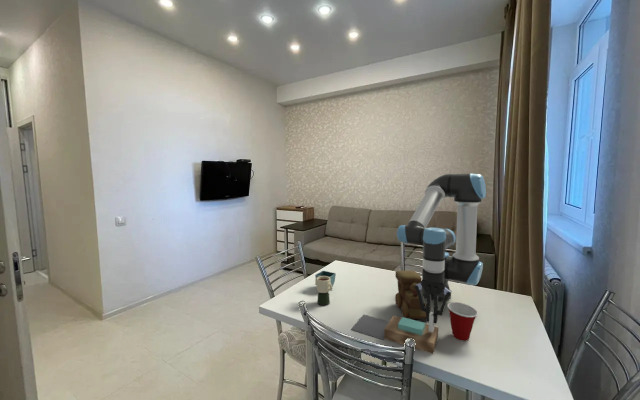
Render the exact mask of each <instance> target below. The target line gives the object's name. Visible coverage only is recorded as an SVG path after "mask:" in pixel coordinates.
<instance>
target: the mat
mask: <svg viewBox="0 0 640 400" xmlns="http://www.w3.org/2000/svg"><path fill="white" fill-rule="evenodd" d="M389 321H390V320H385V319H381V318H378V317H375V316H370V315H367V314H363V315H361V317H360V318H359V319H358V320H357V322H355V323H354V325H353V326H352V327H351V328H350V331H354V332H357V333H360V334H363V335H366V336H369V337H373V338H376V339H379V340H382V341H384V340H385V339H384V329H385V328H386V326H387V324H388V323H389Z"/></svg>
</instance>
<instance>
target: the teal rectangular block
mask: <svg viewBox="0 0 640 400" xmlns="http://www.w3.org/2000/svg"><path fill="white" fill-rule="evenodd" d="M400 318H401V320H400V322H399V323H398V329H401V330H404V331H408V332H411V333H415V334H418V335H423V332H424V330H425V324H426V322H423V321H420V320H416V319H410V318H404V317H403V316H402V317H400Z"/></svg>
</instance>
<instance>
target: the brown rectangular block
mask: <svg viewBox="0 0 640 400" xmlns="http://www.w3.org/2000/svg"><path fill="white" fill-rule="evenodd" d="M401 318H402V317H401V316H400V317H399V316H398V315H397V316H396V315H392V317H391V318H390V320H388V321H389V323H388V324H387V326H386V328H385V329H384V340H387V341H389V342H394V343H396V342H397V344H399V345H403V346H405V345H404V343H405V340H406V339H407V338H412V339H414V340H415V343H416V345H415V348H414V349H416V350H419V351H422V352H426V353H428V354H432V355H434V354H435V349H436V347H437V343H438V339H439V326H435V325H434V331H433V332H429V324H428V323H425V330H424V332H423V335H418V334H415V333H411V332H408V331H404V330H401V329H398V323H399V322H400V320H401Z"/></svg>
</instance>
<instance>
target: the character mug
mask: <svg viewBox="0 0 640 400" xmlns="http://www.w3.org/2000/svg"><path fill="white" fill-rule="evenodd" d="M314 282H315V287H316V288H315V289H316V291H317V292H318V294H317V301H316V302H317V304H318V305H320V306H325V305H328V304H330V292H331V291H333V287H332V284H331V279H330V277H328V276H319V277H317V279H316V278H315V279H314Z"/></svg>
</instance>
